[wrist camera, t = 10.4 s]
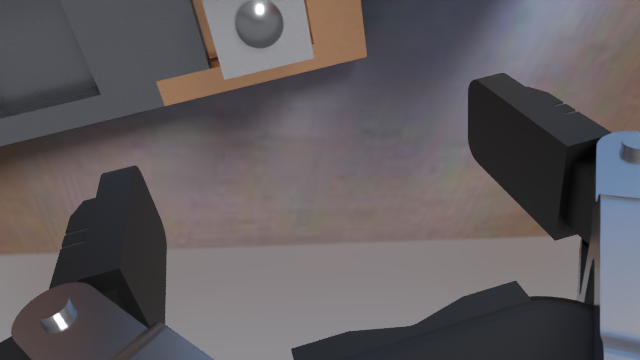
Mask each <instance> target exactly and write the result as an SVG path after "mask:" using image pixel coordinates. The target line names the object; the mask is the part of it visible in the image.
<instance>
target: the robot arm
mask: <svg viewBox="0 0 640 360" xmlns="http://www.w3.org/2000/svg"><path fill="white" fill-rule="evenodd" d="M468 142H469V147H470V150H471V153H472V155H473V157H474V159H475V160H476V161H477V162H478V163H479V165H480V166H481V167H482V168H483V169H484V170H485V171H486V172H487V173H488V174H489V175H490V176H491V177H492V178H493V179H494V180H495V181H496V182H497V183H498V184H499V185H500V186H501V187H502V188H503V189H504V190H505V191H506V192H507V193H508V194H509V195H510V196H511V197H512V198H513V199H514V200H515V201H516V202H517V203H518V204H519V205H520V206H521V207H522V208H523V209H524V210H525V211H526V212H527V213H528V214H529V215H530V216H531V217H532V218H533V219H534V220H535V221H536V222H537V223H538V224H539V225H540V226H541V227H542V228H543V229H544V230H545V231H546V232H547V233H548V234H549V235H550V236H551V237H552V238H553V239H554V240H559V239H562V238H565V237H569V236H572V235H576V234H578V235H579V236H580V237H581V243H580V249H579V264H578V284H577V285H578V286H577V301H576V300H571V299H566V298H558V297H546V296H544V297H543V296H533V297H529V296H528V295H527V294H526V293H525V291H524V290H523V289H522V288H521V286H520V285H519V284H518V283H517V281H513V282H510V283H507V284H503V285H500V286H497V287H493V288H490V289H487V290H484V291H480V292H477V293H474V294H470V295H468V296H464V297H462V298H460V299H458V300H456V301H455V302H453V303H451V304H450V305H448V306H446V307H444V308H443V309H441V310H439V311H438V312H436V313H434V314H433V315H431V316H429V317H427V318H426V319H424V320H422V321H421V322H419V323H417V324H415V325H412V326H407V327H396V328H384V329H372V330H360V331H349V332H345V333H342V334H339V335H335V336H332V337H329V338H325V339H322V340H319V341H316V342H313V343H309V344H306V345H302V346H299V347H296V348H292V349H291V350H292V354H293V358H294V360H640V131H620V132H614V133H612V132H610V131H608V130H607V129H605V128H604V127H602V126H600V125H599V124H597V123H596V122H594V121H592V120H591V119H589V118H588V117H586V116H584V115H583V114H581V113H580V112H575V109H573V108H572V107H570V106H569V105H567V104H563V102H562V101H561V100H559V99H557V98H556V97H554V96H553V95H551V94H549V93H547V92H544V91H541V90H537V89H534V88H530V87H525V86H523V85H522V84H520V83H519V82H517V81H516V80H514V79H513V78H511V77H510V76H508V75H507V74H505V73H499V74H496V75H492V76H488V77H484V78H480V79H476V80H473V81H472V82H471V83H470V85H469V89H468ZM166 253H167V243H166V236H165V231H164V227H163V224H162V221H161V218H160V216H159V214H158V211H157V209H156V207H155V204H154V202H153V199H152V197H151V195H150V192H149V190H148V188H147V185H146V183H145V181H144V178H143V176H142V174H141V172H140V170H139V168H138V167H137V166H131V167H127V168H123V169H119V170H115V171H111V172H107V173H104V174H102V175H101V178H100V182H99V186H98V190H97V195H96V198H93V199H89V200H86V201H83V202H82V204H81V205H80V206H79V207H78V208H77V210H76V211H75V212H74V213H73V214H72V215H71V217H70V219H69V223H68V226H67V229H66V236H64V240H63V243H62V249H61V250H60V253H59V257H58V260H57V263H56V267H55V270H54V274H53V277H52V281H51V284H50V287H49V290H47V291H45V292H43V293H42V294H40V295H39V296H37V297H36V298H34V299H33V300H32V301H30V302H29V303H28V304H27V305H26V306H25V307H24V308H23V309H22V310H21V311H20V313H19V314H18V316H17V317H16V319H15V321H14V323H13V326H12V332H11V334H12V336H11V337H10V338H8V339H6V340H4V341H2V342H1V343H0V360H214V359H212V358H211V357H210V356H208V355H207V354H206V353H204V352H203V351H201V350H200V349H199V348H197V347H196V346H194V345H193V344H192V343H190V342H189V341H187V340H186V339H184V338H183V337H182V336H180V335H179V334H178V333H176V332H175V331H173V330H172V329H171V328H169V327H168V326H166V325H165V295H166Z"/></svg>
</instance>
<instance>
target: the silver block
mask: <svg viewBox="0 0 640 360" xmlns="http://www.w3.org/2000/svg"><path fill="white" fill-rule="evenodd" d="M202 3H203V7H204V10H205V14H206V17H207V21H208V24H209V28H210V31H211V35H212V38H213V42H214V45H215V49H216V53H217V56H218V60H219V63H220V67H221V70H222V74H223V77H224V80H226V79H230V78H234V77H238V76H243V75H247V74H251V73H255V72H259V71H263V70H267V69H272V68H276V67H280V66H284V65H288V64H292V63H297V62H301V61H305V60H309V59H313V58H314V55H313V49H312V43H311V38H310V32H309V26H308V20H307V15H306V9H305V3H304V0H202Z"/></svg>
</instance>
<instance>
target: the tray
mask: <svg viewBox="0 0 640 360" xmlns="http://www.w3.org/2000/svg"><path fill="white" fill-rule="evenodd" d="M304 3H305V9H306V15H307V20H308V26H309V32H310V38H311V43H312V49H313V55H314V58H313V59H309V60H305V61H301V62H297V63H292V64H288V65H284V66H280V67H276V68H272V69H267V70H263V71H259V72H255V73H251V74H247V75H243V76H238V77H234V78H230V79H226V80H224V77H223V74H222V70H221V67H220V63H219V60H218V56H217V53H216V49H215V45H214V42H213V38H212V35H211V31H210V28H209V24H208V21H207V17H206V14H205V10H204V7H203V3H202V0H0V146H4V145H8V144H12V143H16V142H20V141H25V140H29V139H33V138H37V137H41V136H45V135H49V134H53V133H57V132H61V131H65V130H70V129H74V128H78V127H82V126H86V125H90V124H94V123H98V122H102V121H106V120H111V119H115V118H119V117H123V116H127V115H131V114H135V113H139V112H143V111H147V110H152V109H156V108H160V107H164V106H168V105H172V104H176V103H180V102H184V101H188V100H193V99H197V98H201V97H205V96H209V95H213V94H217V93H221V92H225V91H229V90H234V89H238V88H242V87H246V86H250V85H254V84H258V83H262V82H266V81H270V80H275V79H279V78H283V77H287V76H291V75H295V74H299V73H303V72H307V71H311V70H315V69H320V68H324V67H328V66H332V65H336V64H340V63H344V62H348V61H352V60H356V59H361V58H365V57H367V51H366V42H365V33H364V25H363V16H362V7H361V0H304Z"/></svg>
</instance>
